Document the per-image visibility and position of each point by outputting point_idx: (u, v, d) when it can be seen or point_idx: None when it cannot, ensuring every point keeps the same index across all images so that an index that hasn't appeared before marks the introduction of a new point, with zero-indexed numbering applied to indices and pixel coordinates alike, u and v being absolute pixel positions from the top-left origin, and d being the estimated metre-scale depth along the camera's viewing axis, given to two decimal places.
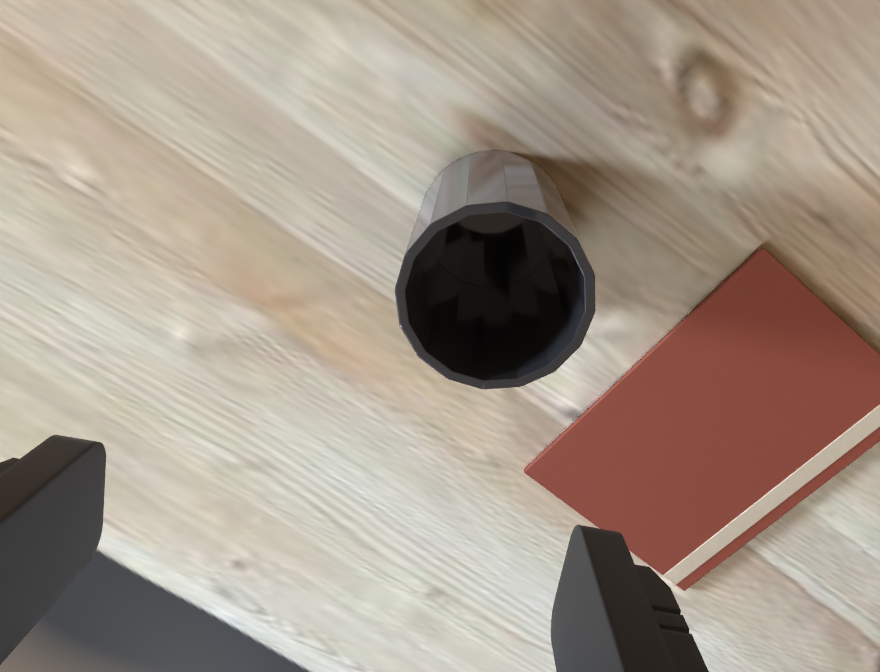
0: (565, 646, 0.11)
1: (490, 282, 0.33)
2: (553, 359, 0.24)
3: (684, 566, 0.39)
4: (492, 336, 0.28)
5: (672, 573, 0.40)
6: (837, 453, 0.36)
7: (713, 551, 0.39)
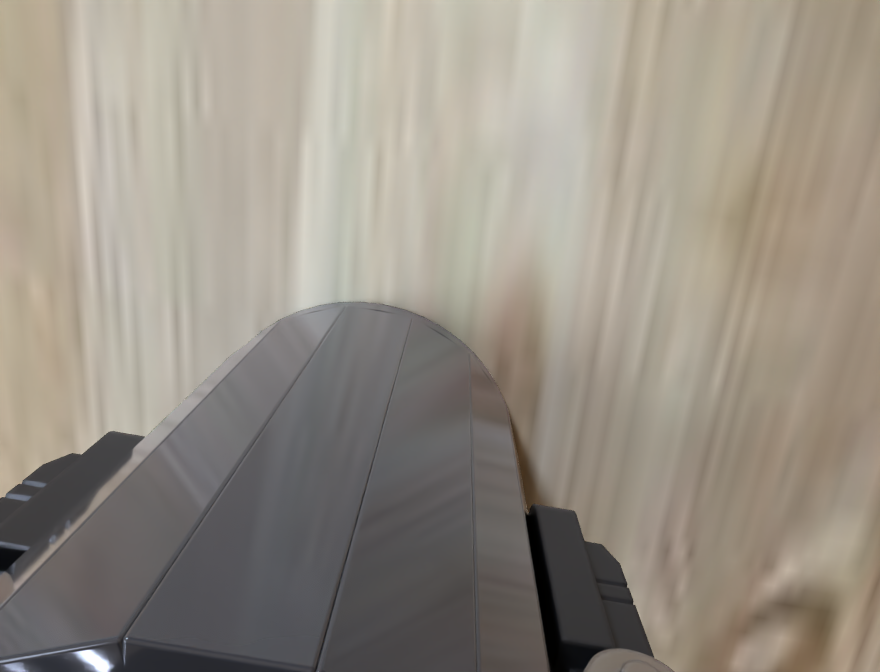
0: None
1: None
2: None
3: None
4: None
5: None
6: None
7: None
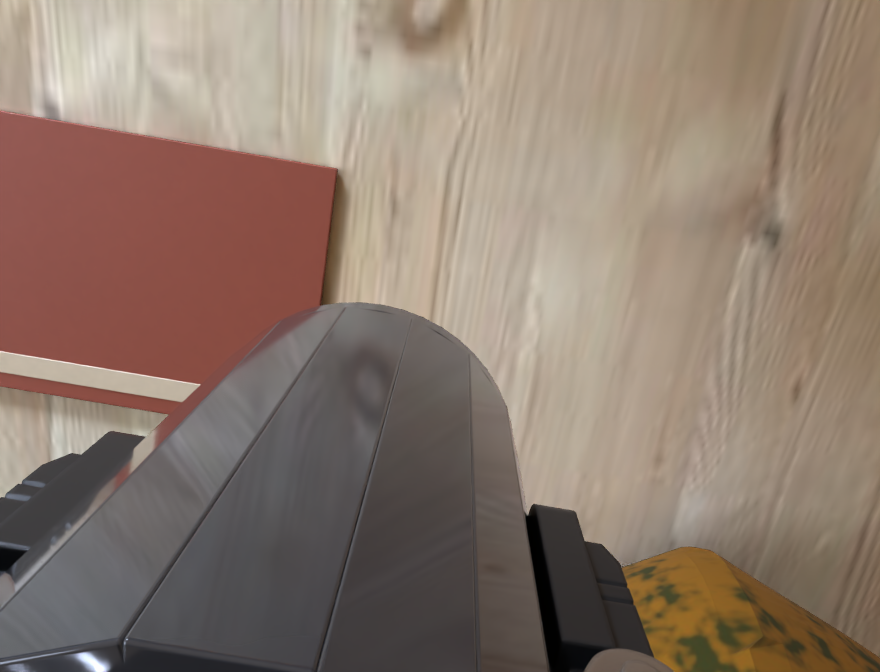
0: None
1: None
2: None
3: None
4: None
5: None
6: None
7: (16, 371, 0.32)
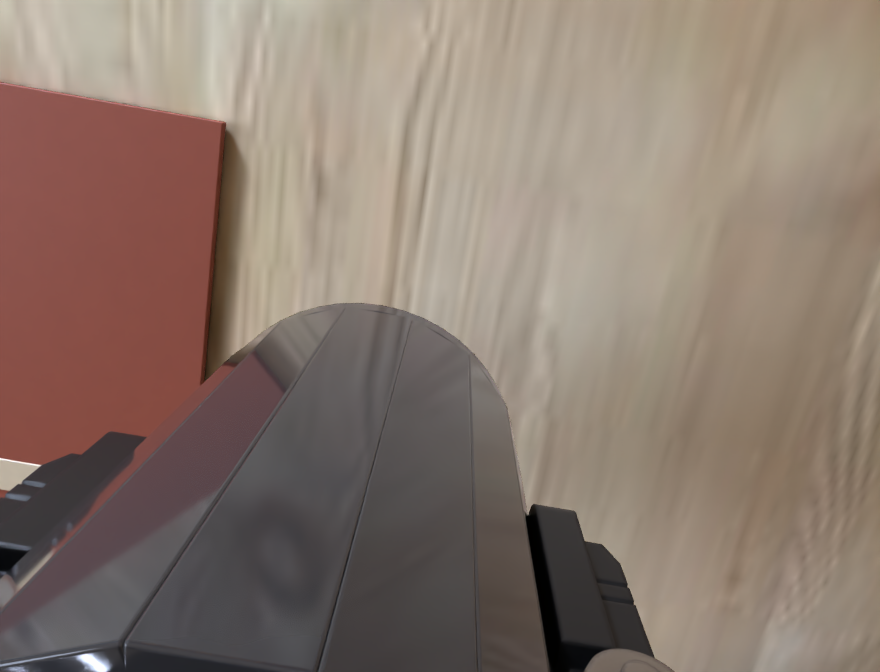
0: None
1: None
2: None
3: None
4: None
5: None
6: None
7: None
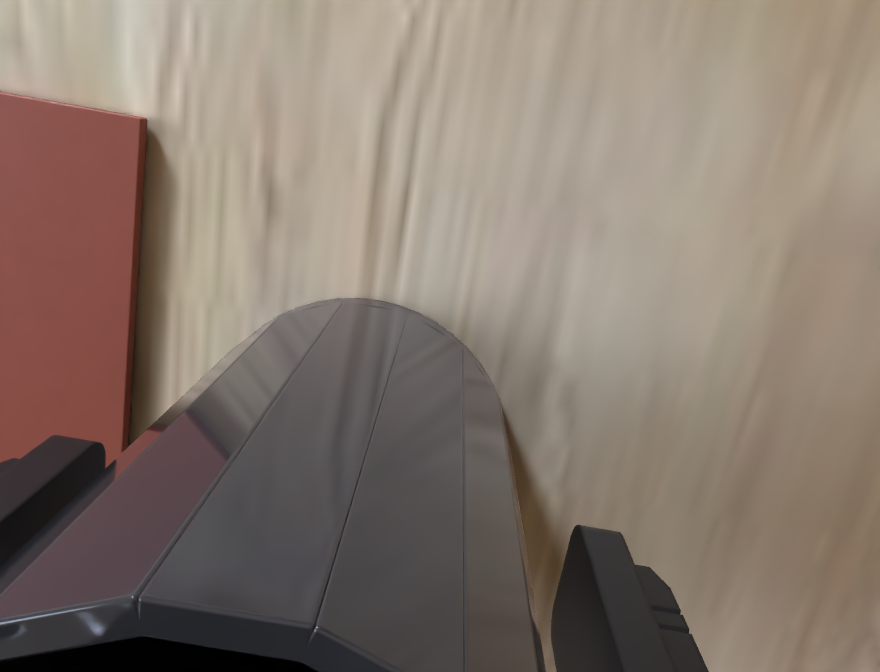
0: (565, 646, 0.11)
1: None
2: None
3: None
4: None
5: None
6: None
7: None
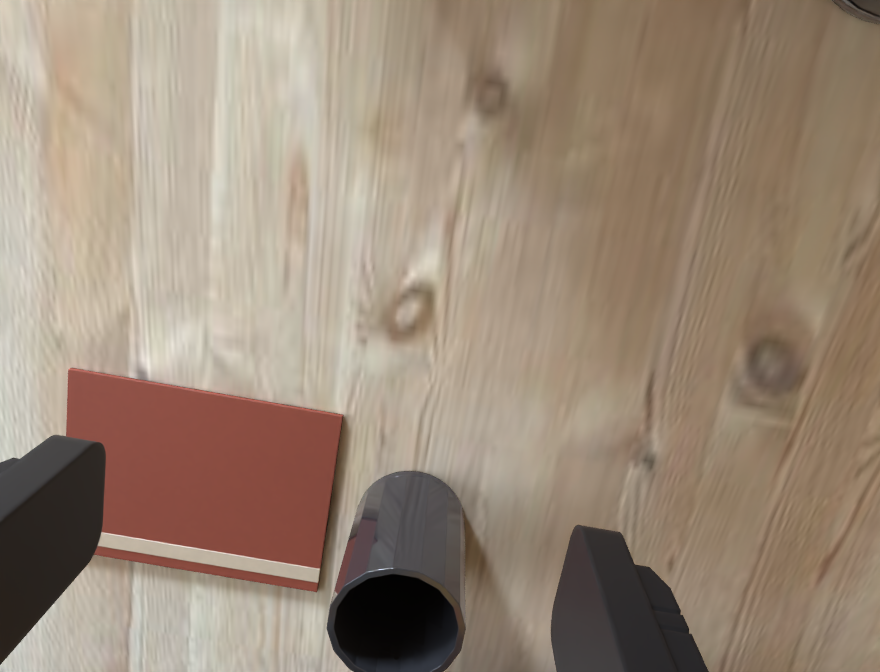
0: (565, 646, 0.11)
1: None
2: None
3: None
4: (355, 604, 0.38)
5: None
6: (242, 566, 0.44)
7: (110, 545, 0.44)
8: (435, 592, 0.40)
